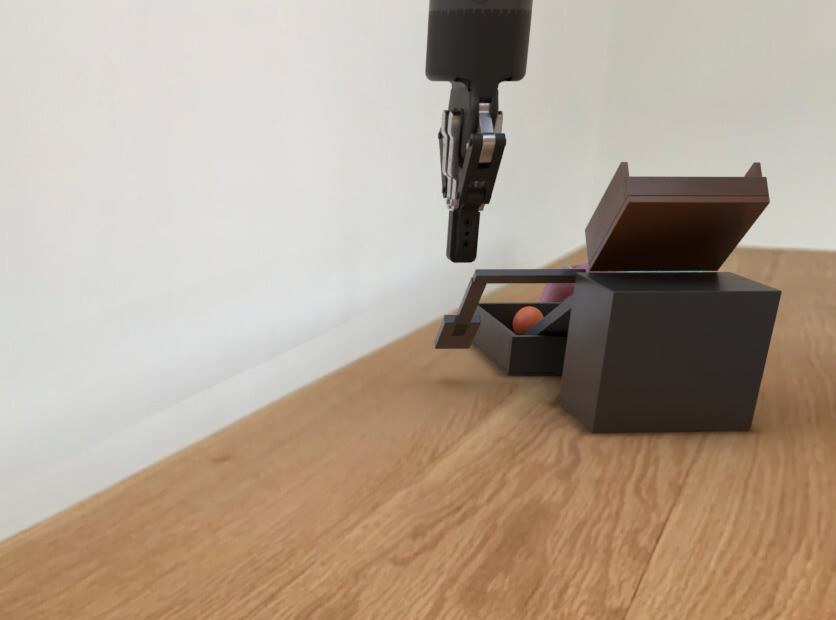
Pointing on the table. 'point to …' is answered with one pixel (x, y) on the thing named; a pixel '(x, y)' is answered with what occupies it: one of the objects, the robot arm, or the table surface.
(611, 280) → the plinth
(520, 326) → the ball terracotta
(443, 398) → the table surface
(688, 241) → the tipping trough with lever
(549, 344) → the tray
